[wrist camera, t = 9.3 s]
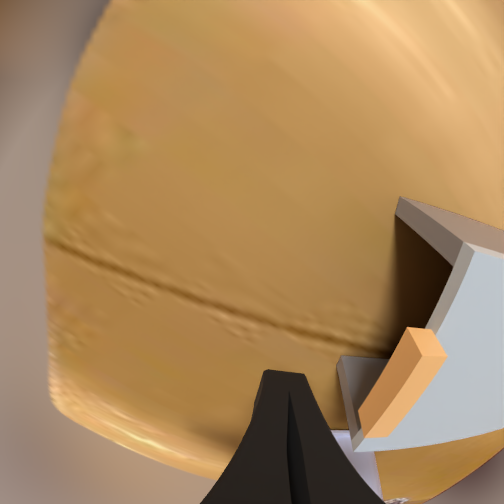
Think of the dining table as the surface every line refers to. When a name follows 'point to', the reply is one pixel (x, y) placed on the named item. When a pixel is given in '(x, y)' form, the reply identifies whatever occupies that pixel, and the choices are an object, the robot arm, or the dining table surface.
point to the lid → (444, 366)
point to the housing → (448, 245)
